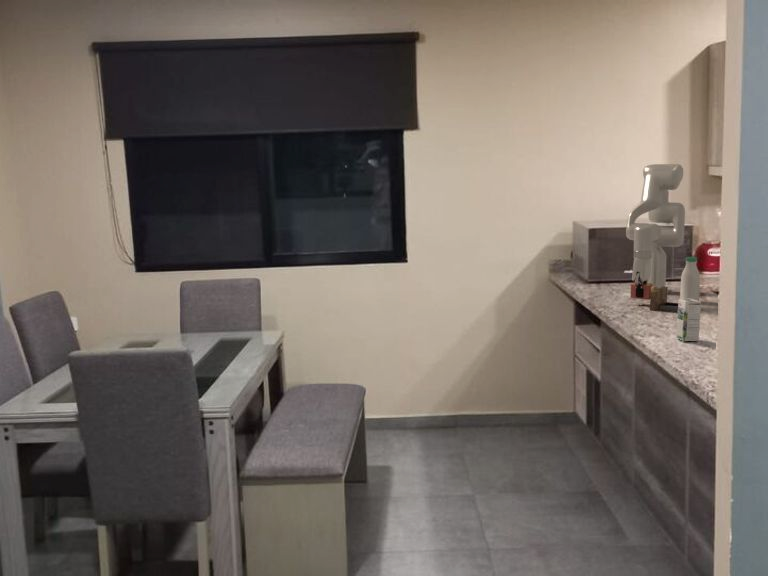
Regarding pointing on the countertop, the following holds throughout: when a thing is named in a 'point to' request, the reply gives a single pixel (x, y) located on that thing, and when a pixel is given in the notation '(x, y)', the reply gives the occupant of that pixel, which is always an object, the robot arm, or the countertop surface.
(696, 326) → the syrup box
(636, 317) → the countertop surface
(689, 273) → the milk bottle
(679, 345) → the countertop surface
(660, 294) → the door board
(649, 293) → the red block
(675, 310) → the tray
